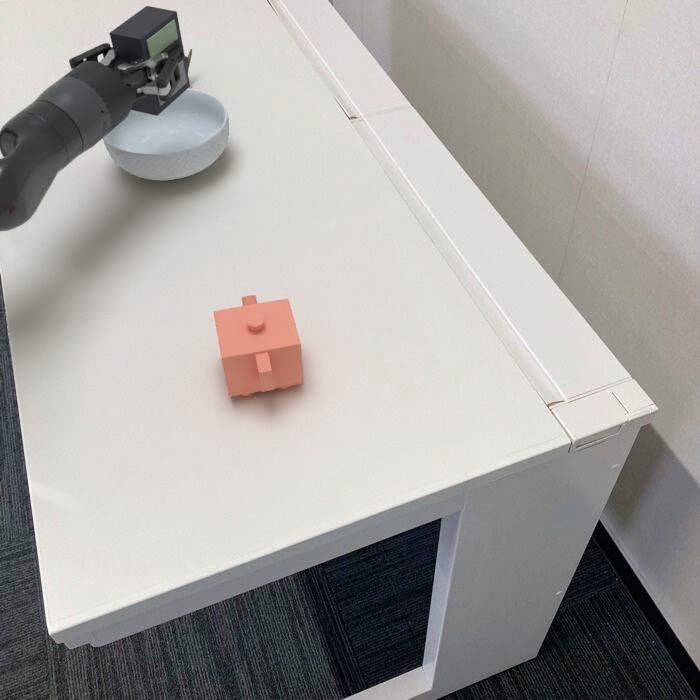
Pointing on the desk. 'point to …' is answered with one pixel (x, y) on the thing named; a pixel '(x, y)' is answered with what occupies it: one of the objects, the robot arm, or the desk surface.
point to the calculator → (150, 49)
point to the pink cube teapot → (259, 346)
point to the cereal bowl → (171, 138)
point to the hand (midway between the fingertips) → (162, 44)
